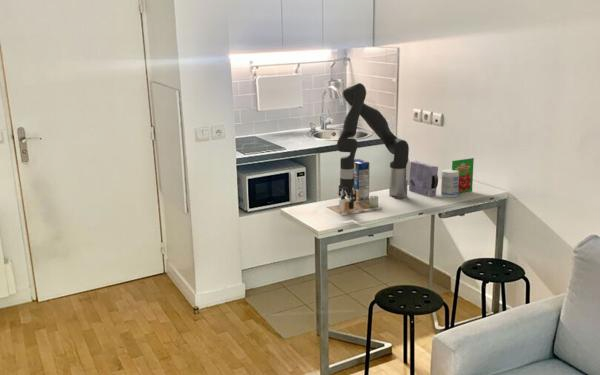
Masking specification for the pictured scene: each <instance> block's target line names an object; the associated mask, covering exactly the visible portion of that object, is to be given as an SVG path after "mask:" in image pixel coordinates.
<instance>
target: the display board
mask: <svg viewBox="0 0 600 375" xmlns="http://www.w3.org/2000/svg"><path fill="white" fill-rule="evenodd" d="M326 208H327V209H329V210H331V211H333V212H335V213H337V214H338V215H341V217H343V216H349V215H350V216H351V215H357V214H363V213H369V212H374V211H375V212H376V211H380V210H383V206H378V207H376V208H370V202H368V201H366V200H361V201H355V211H352V212H346V213H343V212H341V211H339V204H335V205H331V206H326Z"/></svg>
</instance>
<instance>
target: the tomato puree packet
mask: <svg viewBox="0 0 600 375" xmlns="http://www.w3.org/2000/svg"><path fill="white" fill-rule="evenodd" d="M474 159H475V158H474V157H472V158H471V157H470V158H464V159H457V160H451V163H452V164H451V169H452V170H458V171H459V186H458V195H461V194H466V193H472V192H473V185H474V184H473V180H474V179H473V178H474V177H473V176H474V162H475V161H474Z"/></svg>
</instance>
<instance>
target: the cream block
mask: <svg viewBox="0 0 600 375" xmlns="http://www.w3.org/2000/svg"><path fill="white" fill-rule="evenodd" d="M350 199H351V198H350ZM355 202H356V201H354V207H353V209H349V199H348V198H345V199H341V198H340V199H339V201H338V203H339V204H338V205H339V211H341V212H343V213H346V212H352V211H355Z"/></svg>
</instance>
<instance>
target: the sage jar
mask: <svg viewBox="0 0 600 375" xmlns="http://www.w3.org/2000/svg"><path fill="white" fill-rule="evenodd" d="M369 203H370V208H376V207H379V196H378V195H369Z"/></svg>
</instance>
